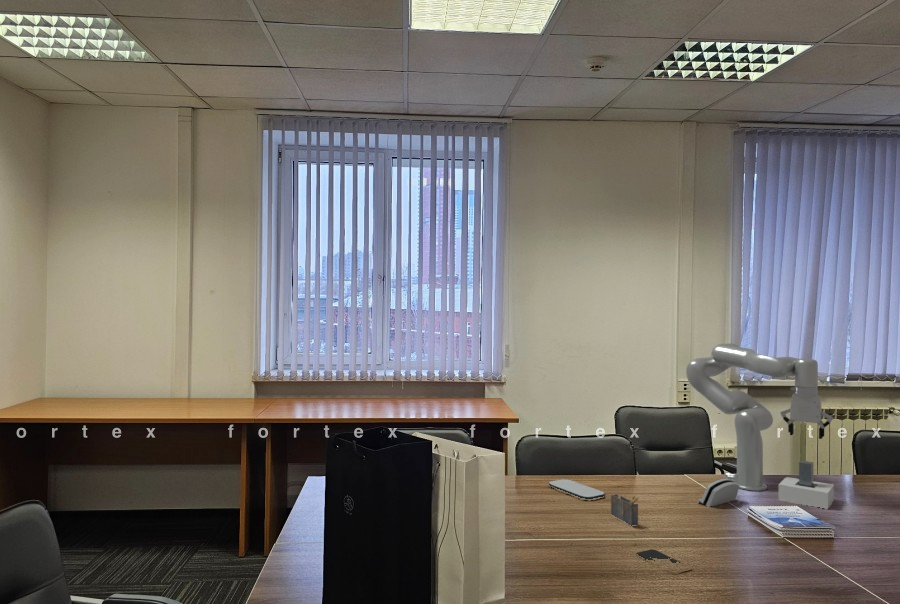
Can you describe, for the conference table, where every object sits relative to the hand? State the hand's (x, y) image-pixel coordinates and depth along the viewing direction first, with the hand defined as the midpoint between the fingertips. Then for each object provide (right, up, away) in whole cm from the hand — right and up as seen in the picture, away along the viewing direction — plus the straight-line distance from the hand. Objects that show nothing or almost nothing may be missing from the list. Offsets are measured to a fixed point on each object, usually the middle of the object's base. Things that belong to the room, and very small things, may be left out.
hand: (806, 436), depth 229 cm
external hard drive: (-86, -24, +8) cm, 90 cm away
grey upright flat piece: (-76, -24, -24) cm, 83 cm away
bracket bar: (0, -24, 0) cm, 24 cm away
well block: (0, -24, 0) cm, 24 cm away
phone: (-75, -23, -58) cm, 97 cm away
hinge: (-35, -24, -4) cm, 42 cm away
